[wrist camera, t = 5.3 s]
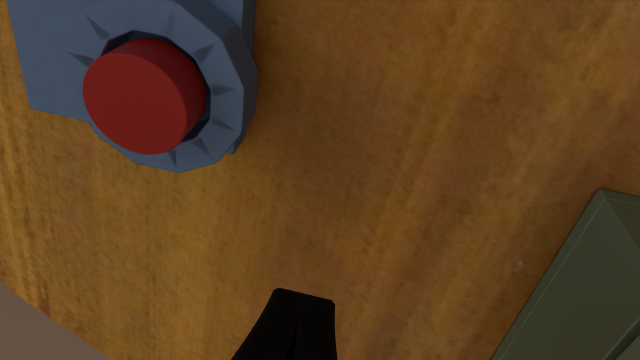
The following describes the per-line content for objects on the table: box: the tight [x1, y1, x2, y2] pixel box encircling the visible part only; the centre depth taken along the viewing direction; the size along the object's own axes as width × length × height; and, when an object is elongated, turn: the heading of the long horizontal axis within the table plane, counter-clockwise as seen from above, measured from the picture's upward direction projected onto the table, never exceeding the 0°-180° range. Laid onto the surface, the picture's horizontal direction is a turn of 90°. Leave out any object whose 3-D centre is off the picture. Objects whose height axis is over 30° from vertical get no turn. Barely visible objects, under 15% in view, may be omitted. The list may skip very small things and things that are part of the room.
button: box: [82, 38, 206, 155], centre depth 15 cm, size 4×4×2 cm
